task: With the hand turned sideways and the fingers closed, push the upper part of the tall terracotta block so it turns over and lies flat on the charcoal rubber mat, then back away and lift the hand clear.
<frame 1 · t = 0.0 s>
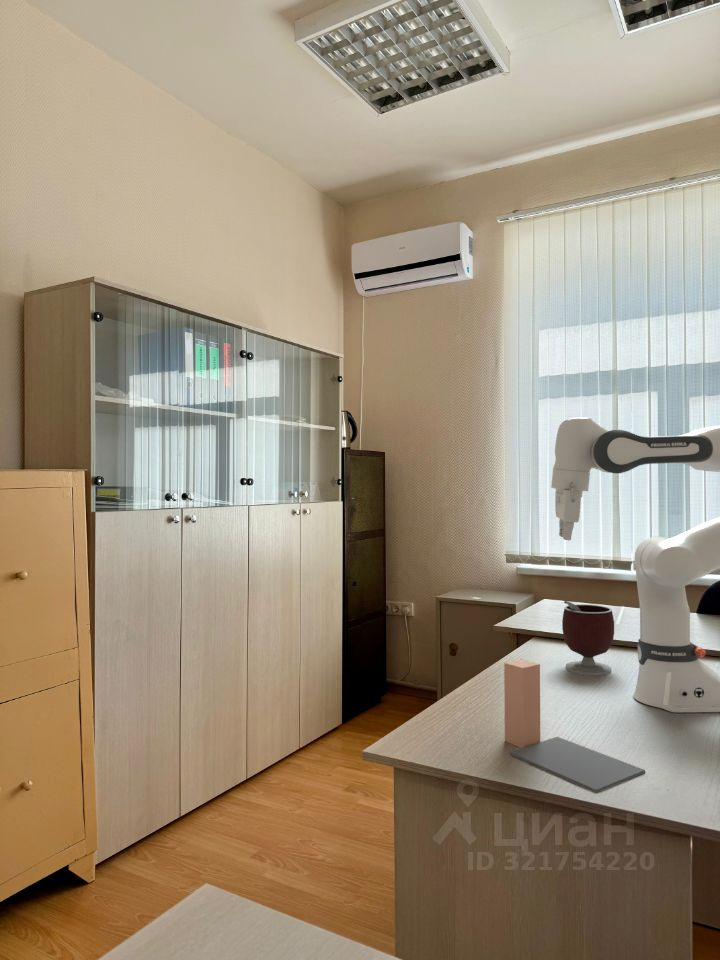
hand: (564, 538, 171), 39 cm above the table, tool pointing down, fingers open, 8 cm apart
charcoal mat: (574, 763, 130), on the table
mate gourd: (586, 670, 194), on the table
terracotta block: (522, 742, 141), on the table
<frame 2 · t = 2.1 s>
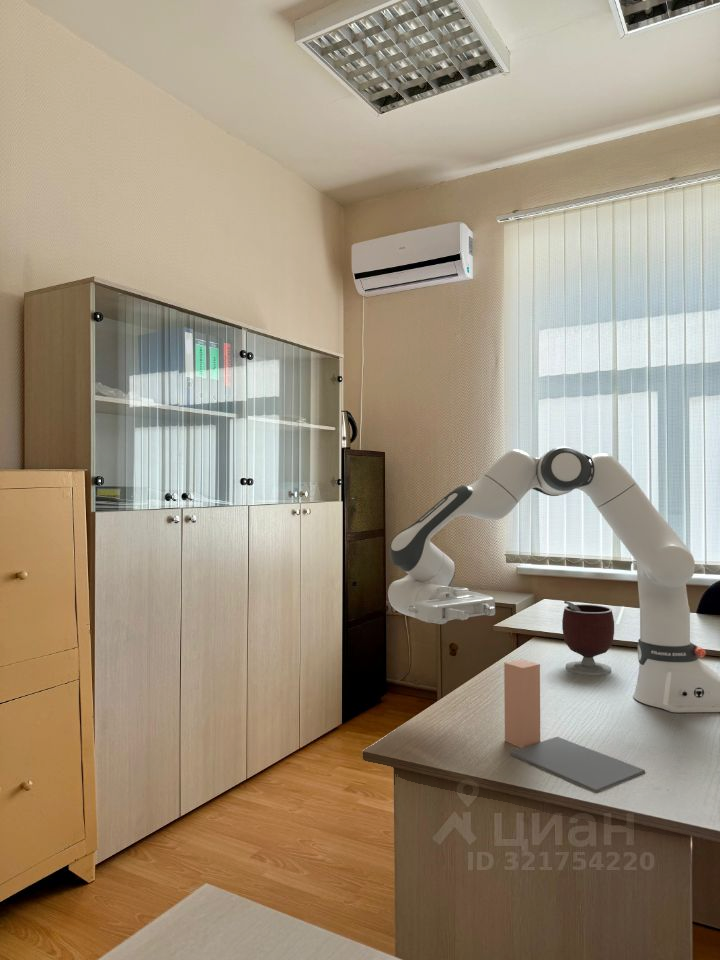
hand: (479, 613, 151), 24 cm above the table, tool horizontal, fingers open, 7 cm apart
nothing on the table moved.
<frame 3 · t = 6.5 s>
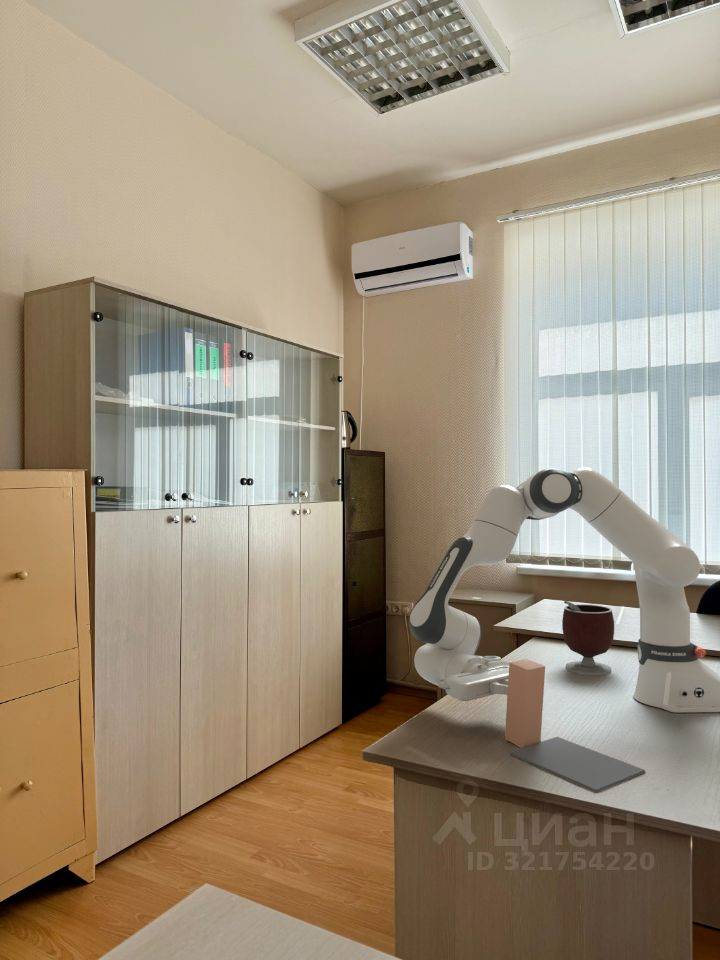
hand: (515, 690, 142), 10 cm above the table, tool horizontal, fingers closed
terracotta block: (522, 741, 141), on the table, touching gripper
everything else where it was.
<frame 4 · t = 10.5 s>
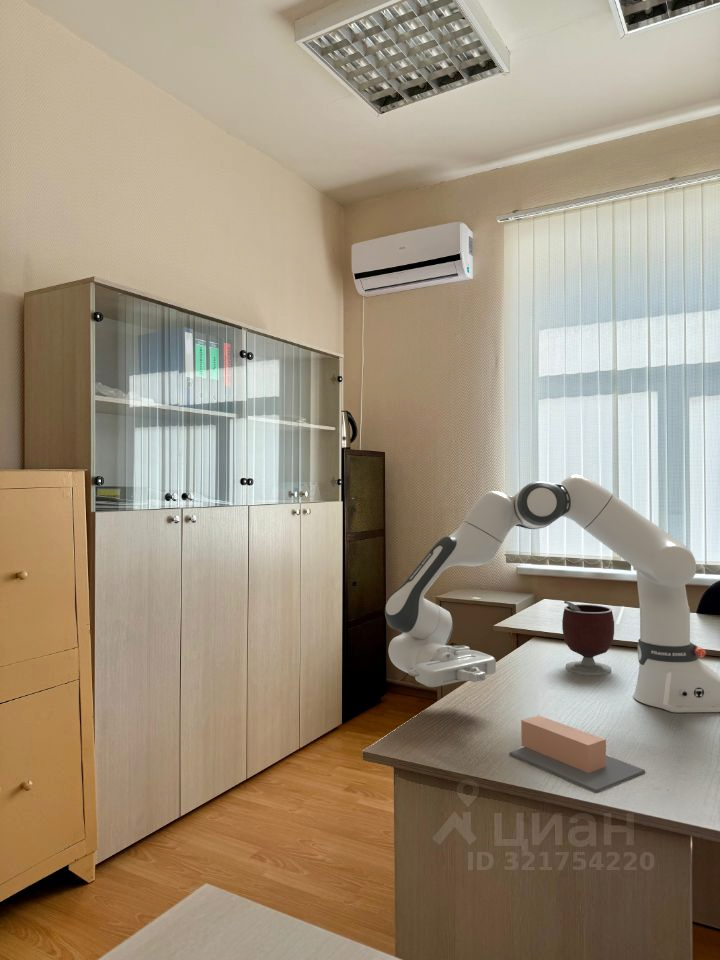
hand: (480, 677, 151), 10 cm above the table, tool horizontal, fingers closed
terracotta block: (530, 730, 139), point 3 cm above the table, tilted 90°, touching charcoal mat
everything else where it was.
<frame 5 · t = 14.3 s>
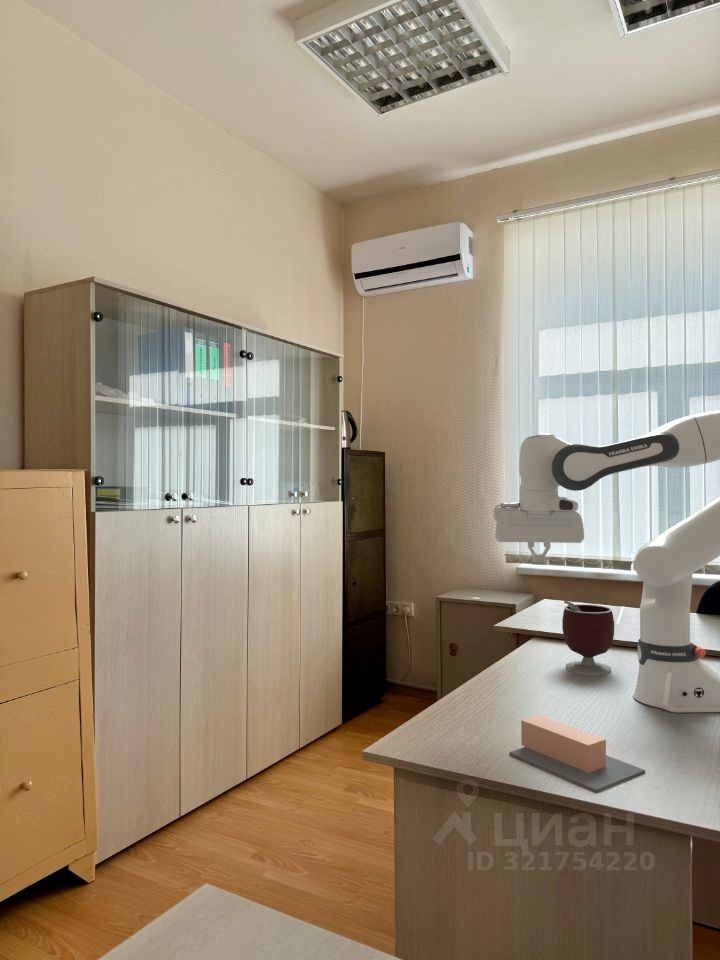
hand: (539, 561, 162), 34 cm above the table, tool pointing down, fingers closed
nothing on the table moved.
at the end: terracotta block tilted 90°; terracotta block touching charcoal mat; terracotta block point 3.0 cm above the table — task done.
